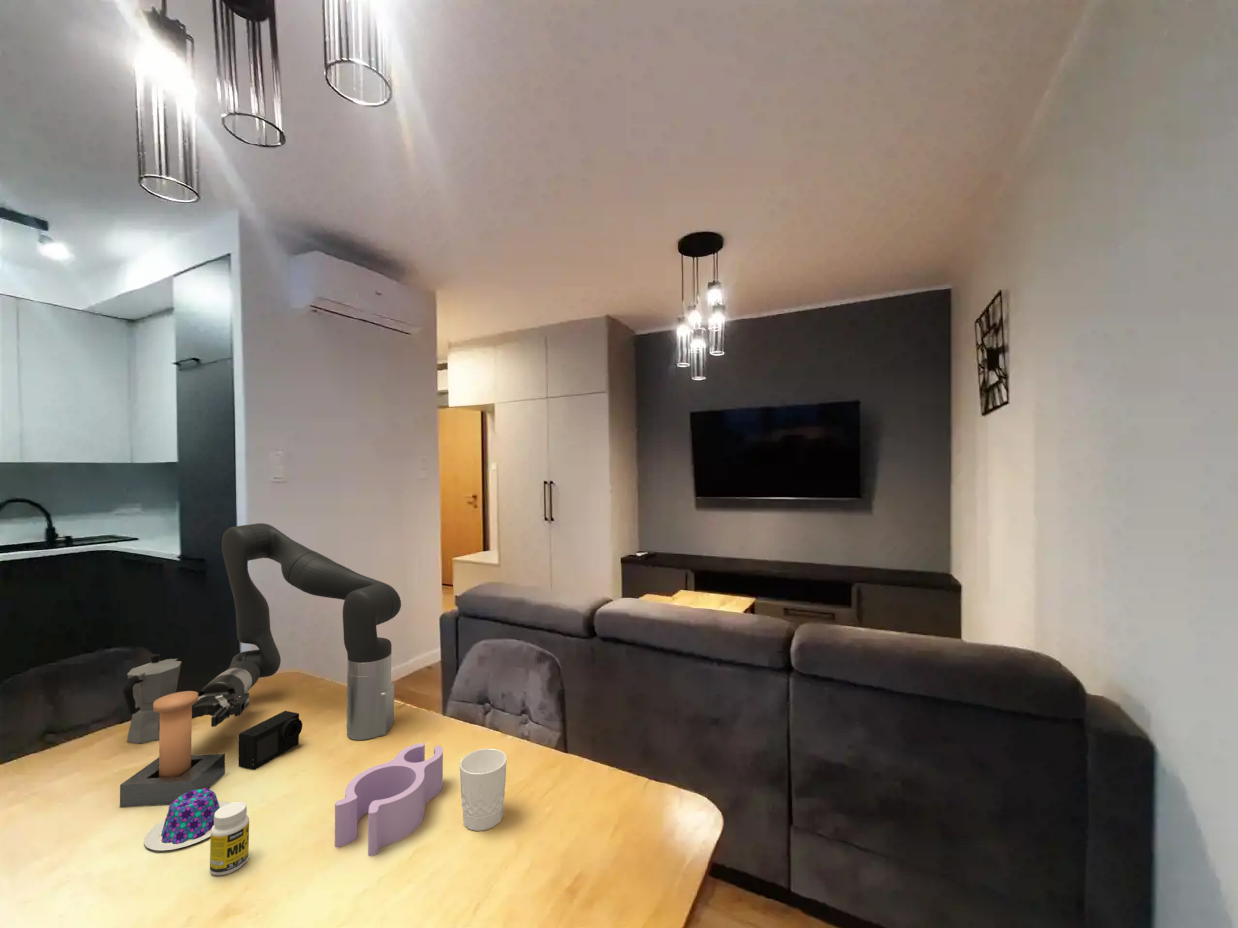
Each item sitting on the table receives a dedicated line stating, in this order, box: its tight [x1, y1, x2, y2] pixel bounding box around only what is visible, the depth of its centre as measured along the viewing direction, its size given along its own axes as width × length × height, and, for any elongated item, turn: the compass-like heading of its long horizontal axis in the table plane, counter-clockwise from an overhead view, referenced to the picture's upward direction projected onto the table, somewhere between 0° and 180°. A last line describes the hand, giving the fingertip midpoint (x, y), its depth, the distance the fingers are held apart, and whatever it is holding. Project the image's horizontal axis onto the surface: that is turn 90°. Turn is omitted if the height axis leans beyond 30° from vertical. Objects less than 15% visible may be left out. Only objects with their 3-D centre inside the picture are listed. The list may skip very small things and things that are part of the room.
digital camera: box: [237, 710, 303, 771], centre depth 109 cm, size 10×5×7 cm, turn 163°
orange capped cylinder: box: [153, 690, 199, 778], centre depth 97 cm, size 6×6×17 cm
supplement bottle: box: [209, 801, 250, 876], centre depth 79 cm, size 5×5×8 cm
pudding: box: [143, 788, 230, 851], centre depth 87 cm, size 12×12×5 cm
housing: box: [119, 753, 226, 808], centre depth 97 cm, size 12×9×4 cm
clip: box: [334, 742, 444, 857], centre depth 92 cm, size 20×12×7 cm, turn 164°
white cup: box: [459, 747, 508, 832], centre depth 90 cm, size 8×8×10 cm
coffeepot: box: [122, 653, 182, 745], centre depth 117 cm, size 15×9×18 cm, turn 9°
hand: (188, 724), depth 102 cm, fingers open, 8 cm apart
